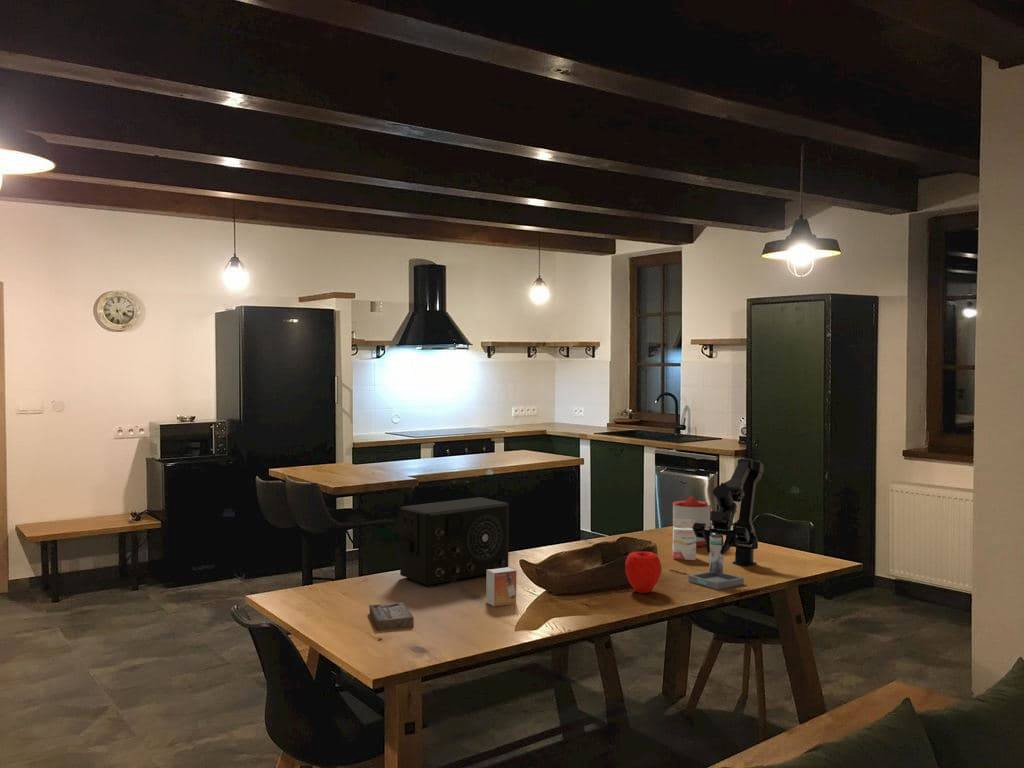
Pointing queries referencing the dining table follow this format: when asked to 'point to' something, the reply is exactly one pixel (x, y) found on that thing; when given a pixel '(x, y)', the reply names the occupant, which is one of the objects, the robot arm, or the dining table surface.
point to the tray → (716, 580)
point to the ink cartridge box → (684, 540)
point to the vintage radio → (453, 539)
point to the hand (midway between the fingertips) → (714, 553)
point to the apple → (643, 570)
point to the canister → (715, 552)
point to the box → (391, 616)
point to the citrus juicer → (692, 513)
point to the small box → (501, 586)
